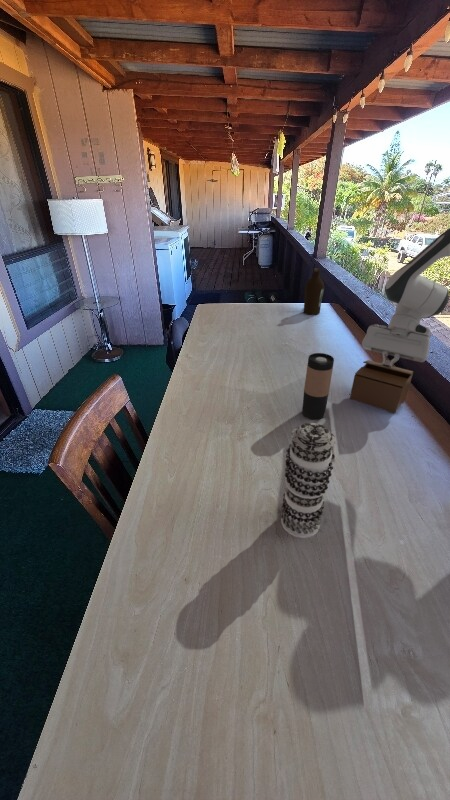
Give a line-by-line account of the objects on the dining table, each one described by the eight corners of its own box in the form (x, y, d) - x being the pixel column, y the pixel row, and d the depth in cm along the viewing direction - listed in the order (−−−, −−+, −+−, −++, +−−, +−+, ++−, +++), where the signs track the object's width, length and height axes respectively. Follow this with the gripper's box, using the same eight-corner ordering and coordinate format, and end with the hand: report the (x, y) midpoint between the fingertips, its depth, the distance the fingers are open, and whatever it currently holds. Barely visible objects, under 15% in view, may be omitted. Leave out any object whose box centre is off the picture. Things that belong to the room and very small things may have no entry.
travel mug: (311, 405, 119) (318, 350, 109) (329, 414, 114) (339, 358, 104) (296, 413, 115) (302, 357, 105) (315, 423, 110) (324, 365, 100)
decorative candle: (284, 501, 83) (294, 412, 70) (324, 512, 80) (342, 422, 67) (274, 531, 75) (283, 438, 62) (317, 545, 72) (336, 450, 59)
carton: (348, 402, 121) (354, 373, 115) (361, 387, 130) (368, 360, 124) (394, 416, 113) (403, 386, 107) (404, 400, 122) (413, 371, 116)
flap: (362, 362, 119) (363, 361, 119) (368, 360, 124) (368, 360, 124) (409, 374, 111) (410, 373, 111) (413, 372, 116) (413, 371, 116)
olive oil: (301, 314, 205) (306, 270, 193) (303, 309, 214) (307, 266, 201) (320, 316, 203) (326, 271, 190) (320, 310, 212) (326, 267, 199)
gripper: (369, 318, 119) (353, 354, 117) (436, 330, 108) (420, 370, 107) (371, 327, 124) (356, 361, 123) (434, 340, 113) (419, 378, 112)
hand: (386, 366), depth 115 cm, fingers closed
